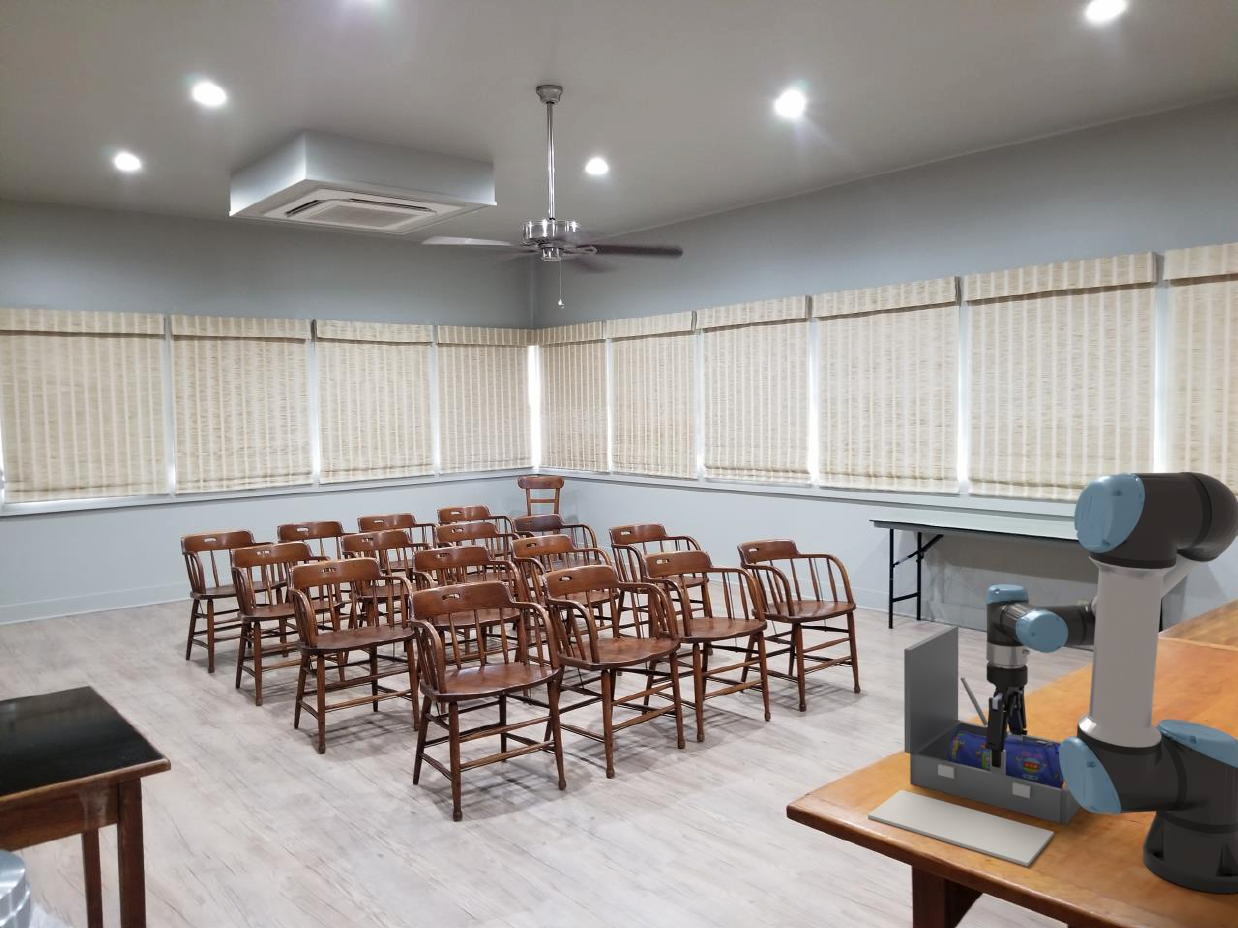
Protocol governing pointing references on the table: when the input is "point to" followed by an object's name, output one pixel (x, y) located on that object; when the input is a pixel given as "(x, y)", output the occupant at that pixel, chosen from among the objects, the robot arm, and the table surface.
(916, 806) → the grey mat
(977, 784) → the case
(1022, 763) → the pencil case
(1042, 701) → the table surface
